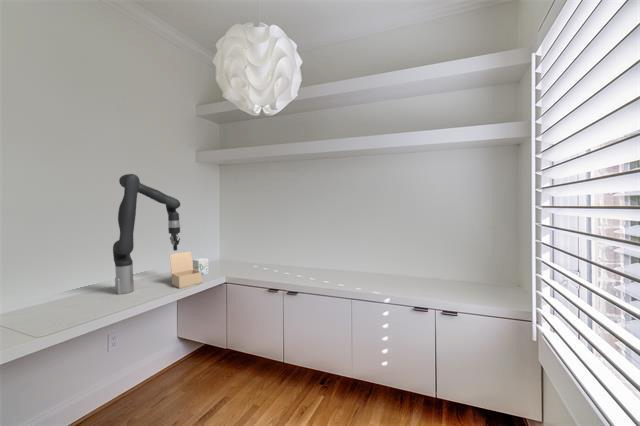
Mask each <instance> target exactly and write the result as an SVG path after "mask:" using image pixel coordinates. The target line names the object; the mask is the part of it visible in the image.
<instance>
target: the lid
mask: <svg viewBox="0 0 640 426" xmlns="http://www.w3.org/2000/svg"><path fill="white" fill-rule="evenodd" d="M169 261H170V263H169V264H170V273H176V272H181V271H186V270H192V269H193V257H192V251H184V252H177V253H170V254H169Z"/></svg>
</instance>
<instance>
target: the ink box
mask: <svg viewBox="0 0 640 426" xmlns="http://www.w3.org/2000/svg"><path fill="white" fill-rule="evenodd" d="M192 264H193V269H194V270H197V271H200V272H202V276H204V275H207V274H209V258H205V257H201V258H200V257H199V258H195V259H192Z"/></svg>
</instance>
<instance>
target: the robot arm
mask: <svg viewBox="0 0 640 426" xmlns="http://www.w3.org/2000/svg"><path fill="white" fill-rule="evenodd" d="M118 180H119V182H118V183H119V184H120V187H122V188H124V194H123V197H122V199H121V202H120V204H119V206H118V211H117V213H118V214H117V222H118V228H119V237H118V238H119V239H118V240H117V241H115V242H114V243H113V246H112V253H113V254H112V255H113V262H114V267H115V278H114V281H115V282H114V283H115V293H116V294H117V295H124V294H129V293H132V292H134V291H135V286H134V285H135V284H134V281H135V280H134V267H133V266H134V265H133V264H134V263H133V259H132V257H131V253H132V252H133V250H134V245H135V244H134V231H135V222H136V217H137V216H136V214H137V201H138V200H137V199H138V195H139V194H141V195H144V196H145V197H147V198H149V199H151V200H153V201H155V202H157V203H159V204H163V205H165V208H166V209H165V210H166V212H167V217H168V223H167V227H168V234H170V237H169V240H170V244H171V245H172V249H173V251H178V245H179V243H180V241H181V238H180V237H179V234H180V233H181V224H180V214H179V212H178V211H177V209H179V208H180V207H181V202H180V200H178V199H177V198H175V197H172V196H170V195H167V194H165V193H164V192H162V191H160V190H158V189H156V188H153V187H151V186H148V185H146V184H143V183H141V182H140V178H139V176H138V175H137V174H135V173H127V174H126V173H125V174H124V175H121V176H120V177H119V179H118ZM138 193H139V194H138Z"/></svg>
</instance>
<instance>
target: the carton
mask: <svg viewBox="0 0 640 426" xmlns="http://www.w3.org/2000/svg"><path fill="white" fill-rule="evenodd" d="M170 273H171V272H170ZM201 284H203V275H202V272H200V271H197V270H194V269H192V270H186V271H181V272H176V273H171V286H173V287H174V288H175V287H176V288H177V289H178V290H179V289H180V290H181V289H185V288H189V287H194V286H198V285H201Z"/></svg>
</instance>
